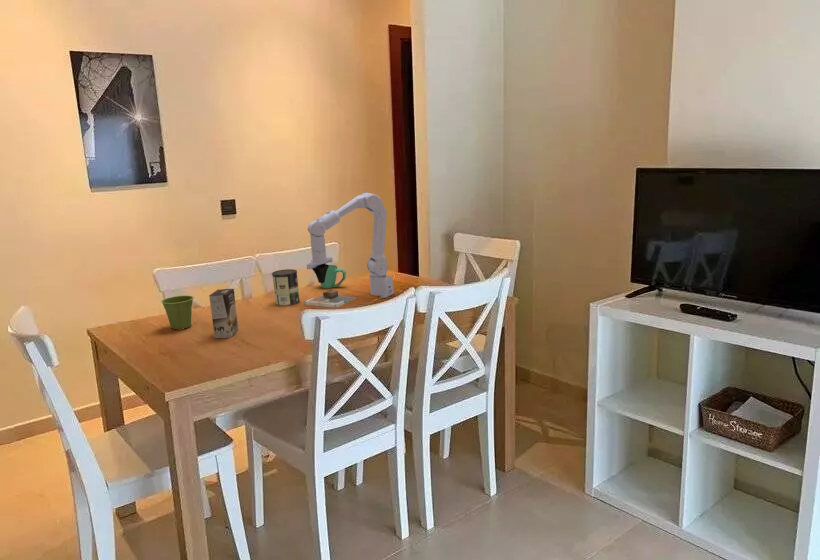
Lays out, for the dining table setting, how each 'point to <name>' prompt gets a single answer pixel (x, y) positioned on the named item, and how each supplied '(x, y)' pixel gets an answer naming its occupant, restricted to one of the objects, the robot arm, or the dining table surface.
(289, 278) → the coffee can
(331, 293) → the token
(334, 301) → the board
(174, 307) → the plant pot
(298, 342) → the dining table surface
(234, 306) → the coffee box
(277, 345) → the dining table surface
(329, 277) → the mug
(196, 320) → the dining table surface
